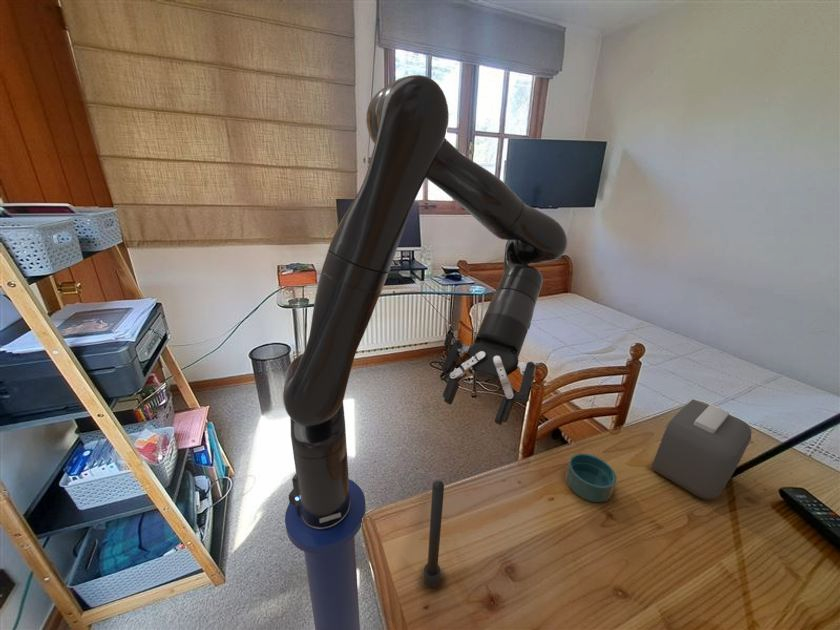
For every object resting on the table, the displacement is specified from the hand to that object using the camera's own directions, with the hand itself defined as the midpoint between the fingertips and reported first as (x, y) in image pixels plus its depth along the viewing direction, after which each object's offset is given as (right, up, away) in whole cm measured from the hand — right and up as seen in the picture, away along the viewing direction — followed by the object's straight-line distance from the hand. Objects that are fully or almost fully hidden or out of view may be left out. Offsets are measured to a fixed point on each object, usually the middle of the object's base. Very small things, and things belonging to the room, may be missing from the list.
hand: (471, 413), depth 52 cm
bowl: (+28, -21, +20) cm, 41 cm away
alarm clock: (+54, -21, +24) cm, 62 cm away
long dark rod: (-6, -27, +2) cm, 28 cm away
